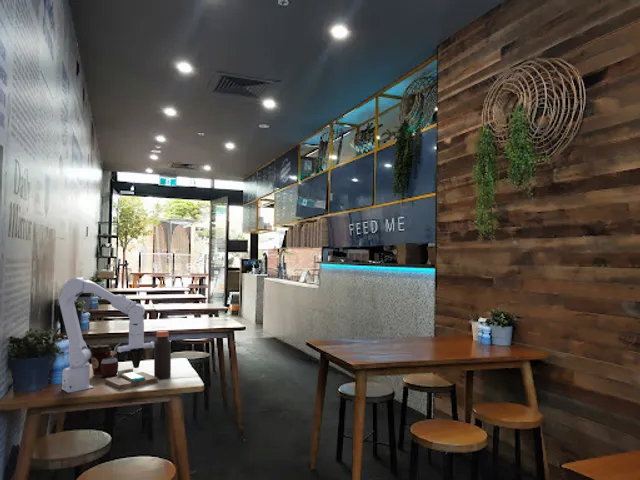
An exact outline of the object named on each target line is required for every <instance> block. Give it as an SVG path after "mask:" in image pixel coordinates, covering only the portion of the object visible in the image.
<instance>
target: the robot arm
mask: <svg viewBox="0 0 640 480" xmlns="http://www.w3.org/2000/svg"><path fill="white" fill-rule="evenodd" d="M81 294H82V295H83V294H94V295H96V296H98V297H100V298H102V299H104V300H106V301H108V302H109V303H110V305H111V307H112V308H115V310H117V311H120V312H121V313H123V314H126V315H127V316H128V318H129V323H128V344H126V345H122V346H117V352H118V353H122V352H127V353H128V355H129V357H130V359H131V362H132V366H133V367H132V368H133V369H139V367H140V363H141V360H142V357H143V355H144V354H145V352H146V351H145V349H153V348H154V343H155V342H145V322H144V320H145V319H144V315H145V313H146V309H145V307H144V305H142V304H141V303H137V301H136V300H134V301H133V300H132V299H130V298H128V297H127V295H125V294H121V293H119V294H114V293H112V292H111V291H109V290H108V289H107V288H104V287H102V286H100V285H99V284H98V283H96V282H94V281H92V280H90V279H87V278H85V277H83V276H78V277H72V278H70V279H68V280H67V281H66V282H65V283H64V285H63V286H62V291H61V294H60V297H59V299H58V303H59V307H60V308H59V309H60V312H61V315H62V319H63V324H64V327H65V333H66V335H67V340H68V344H69V345H68V357H67V361H68V364H69V366H68V367H65V368H63V369H62V372H61V373H62V377H61V381H62V382H61V389H62V390H63V391H64V392H66V393H74V392H79V391H84V390H88V389H93V388H94V386H92V385H90V380H91V379H90V374H91V373H90V372H91V371H90V370H91V368H90V366H91V365H90V362H89V360H90V359H91V352H90V350H91V349H89V347H88V346H87V342H86V341H85V340H84V338H83V333H82V330H81V325H80V321H79V318H78V313H77V307H76V304H75V302H76V301H77V299H78V298H79V297H80V295H81Z"/></svg>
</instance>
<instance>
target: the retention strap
mask: <svg viewBox="0 0 640 480" xmlns="http://www.w3.org/2000/svg"><path fill="white" fill-rule="evenodd" d="M135 373H136V372H134V371H133V372H128V373H122V374H121V376H123V377H125V378H128V379H130V380H132V381H133V382H135V381H140V380H145V377H144V376H140V375H138V374H135Z"/></svg>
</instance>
